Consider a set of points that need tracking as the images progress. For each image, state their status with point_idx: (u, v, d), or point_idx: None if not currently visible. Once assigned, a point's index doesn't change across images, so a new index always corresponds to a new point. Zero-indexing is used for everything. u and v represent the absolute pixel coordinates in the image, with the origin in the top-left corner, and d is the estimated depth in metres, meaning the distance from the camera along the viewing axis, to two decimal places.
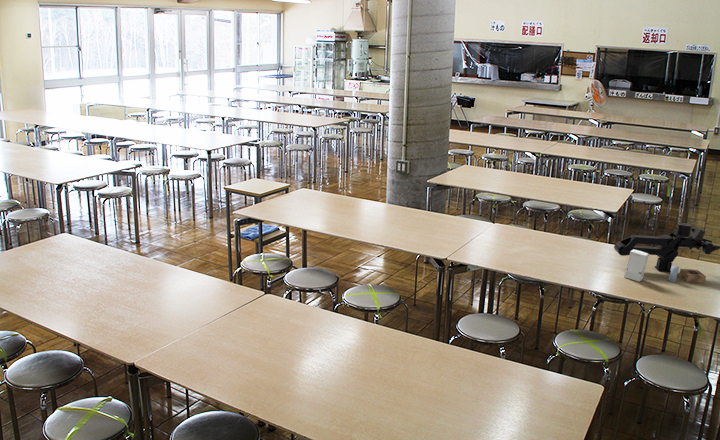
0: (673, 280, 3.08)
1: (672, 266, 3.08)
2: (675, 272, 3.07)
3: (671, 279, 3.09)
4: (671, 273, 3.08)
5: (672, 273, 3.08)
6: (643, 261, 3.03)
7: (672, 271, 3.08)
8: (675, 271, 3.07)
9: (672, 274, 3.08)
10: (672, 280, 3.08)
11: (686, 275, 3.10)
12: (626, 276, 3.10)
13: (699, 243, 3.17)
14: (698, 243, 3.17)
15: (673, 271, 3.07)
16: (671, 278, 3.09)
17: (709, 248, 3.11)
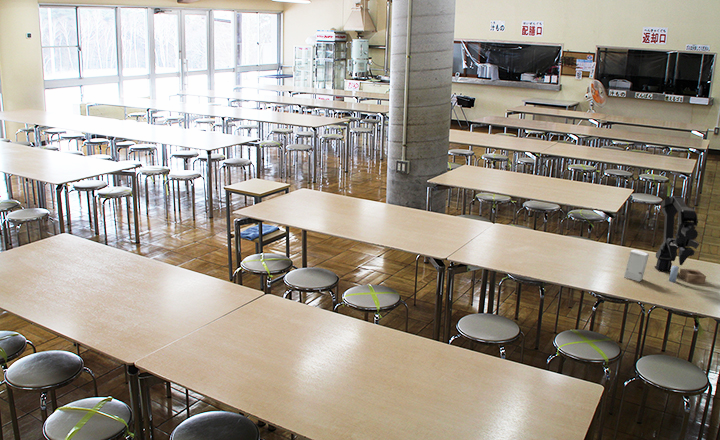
0: (673, 280, 3.08)
1: (672, 266, 3.08)
2: (675, 272, 3.07)
3: (671, 279, 3.09)
4: (671, 273, 3.08)
5: (672, 273, 3.08)
6: (643, 261, 3.03)
7: (672, 271, 3.08)
8: (675, 271, 3.07)
9: (672, 274, 3.08)
10: (672, 280, 3.08)
11: (686, 275, 3.10)
12: (626, 276, 3.10)
13: (685, 244, 3.01)
14: (685, 244, 3.01)
15: (673, 271, 3.07)
16: (671, 278, 3.09)
17: (690, 252, 2.95)
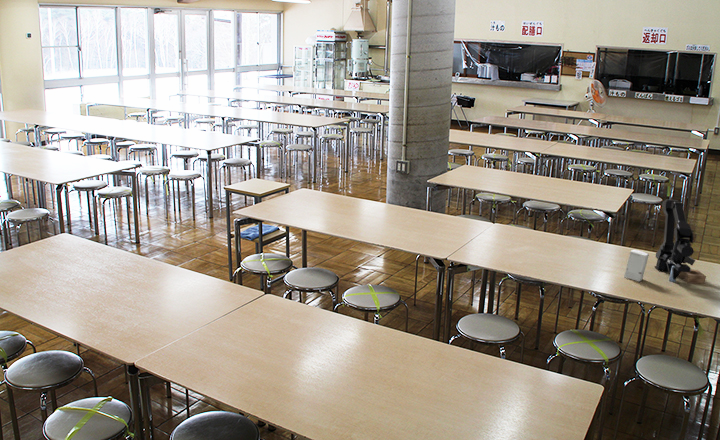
0: (673, 280, 3.08)
1: (672, 266, 3.08)
2: None
3: (671, 279, 3.09)
4: (671, 273, 3.08)
5: (672, 273, 3.08)
6: (643, 261, 3.03)
7: None
8: None
9: (672, 274, 3.08)
10: (672, 280, 3.08)
11: (686, 275, 3.10)
12: (626, 276, 3.10)
13: (681, 261, 3.04)
14: (681, 260, 3.04)
15: None
16: (671, 278, 3.09)
17: (686, 269, 2.98)
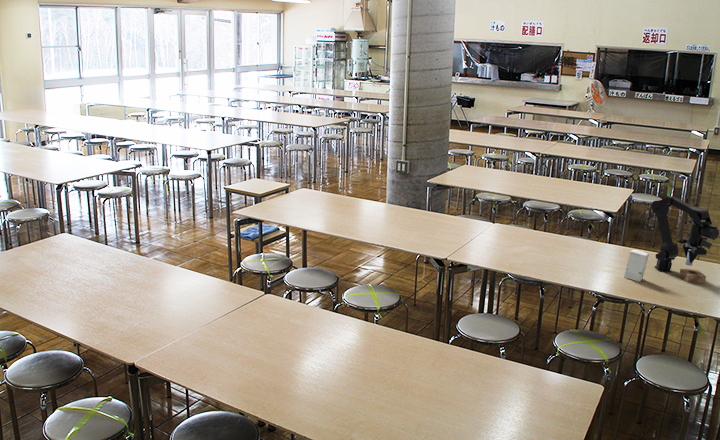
0: (689, 263, 3.08)
1: (689, 249, 3.07)
2: None
3: (687, 262, 3.08)
4: (688, 256, 3.08)
5: None
6: (643, 261, 3.03)
7: None
8: None
9: None
10: (688, 263, 3.08)
11: (686, 275, 3.10)
12: (626, 276, 3.10)
13: (697, 244, 3.03)
14: (697, 243, 3.03)
15: None
16: (687, 261, 3.08)
17: (702, 252, 2.98)
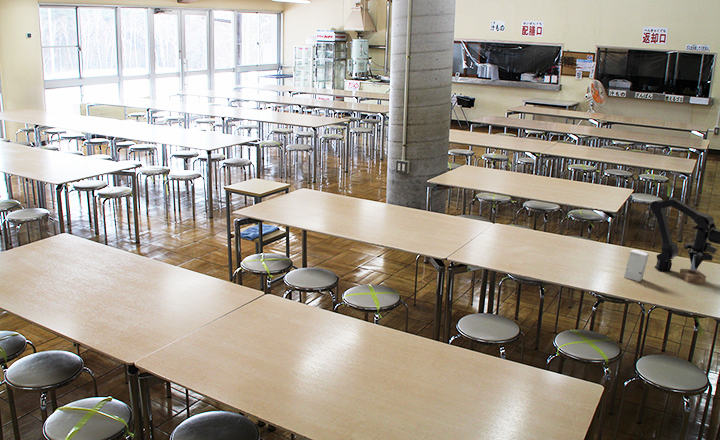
0: (695, 269, 3.10)
1: (694, 255, 3.10)
2: None
3: (693, 268, 3.11)
4: (693, 262, 3.10)
5: None
6: (643, 261, 3.03)
7: None
8: None
9: None
10: (694, 269, 3.10)
11: (686, 275, 3.10)
12: (626, 276, 3.10)
13: (703, 250, 3.06)
14: (703, 249, 3.05)
15: None
16: (693, 267, 3.10)
17: (708, 258, 3.00)
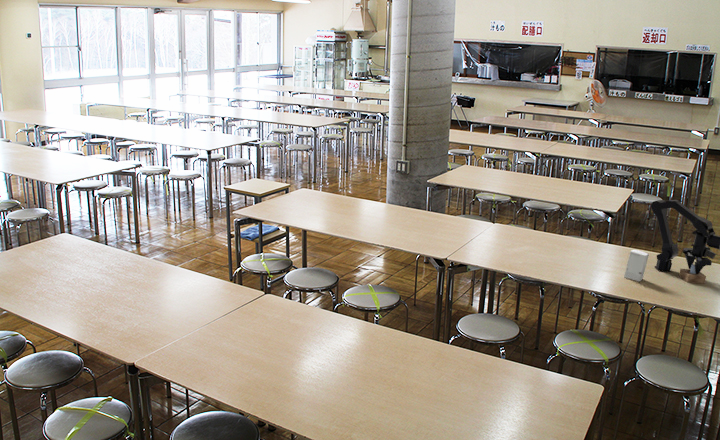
0: None
1: (691, 265, 3.11)
2: (694, 271, 3.10)
3: None
4: (690, 272, 3.12)
5: (691, 272, 3.11)
6: (643, 261, 3.03)
7: (691, 270, 3.11)
8: (694, 270, 3.10)
9: (691, 273, 3.11)
10: None
11: (686, 275, 3.10)
12: (626, 276, 3.10)
13: (702, 255, 3.06)
14: (702, 254, 3.06)
15: (692, 269, 3.11)
16: None
17: (707, 263, 3.01)
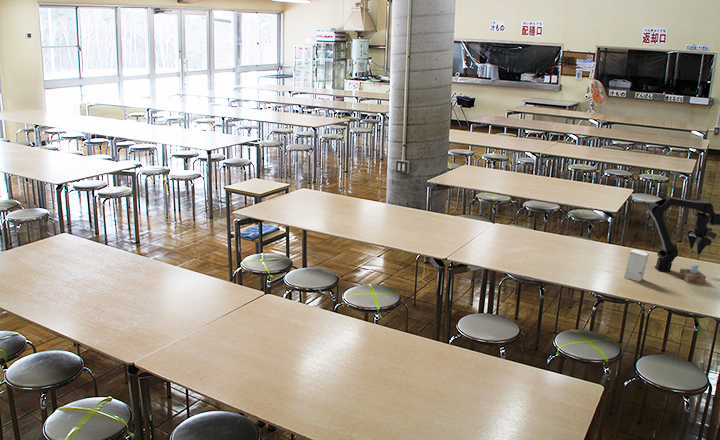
0: None
1: (691, 265, 3.11)
2: (695, 271, 3.10)
3: None
4: (690, 272, 3.12)
5: (691, 272, 3.11)
6: (643, 261, 3.03)
7: (691, 270, 3.11)
8: (695, 270, 3.10)
9: (691, 273, 3.11)
10: None
11: (686, 275, 3.10)
12: (626, 276, 3.10)
13: (702, 235, 3.15)
14: (702, 234, 3.14)
15: (692, 269, 3.11)
16: None
17: (707, 242, 3.09)
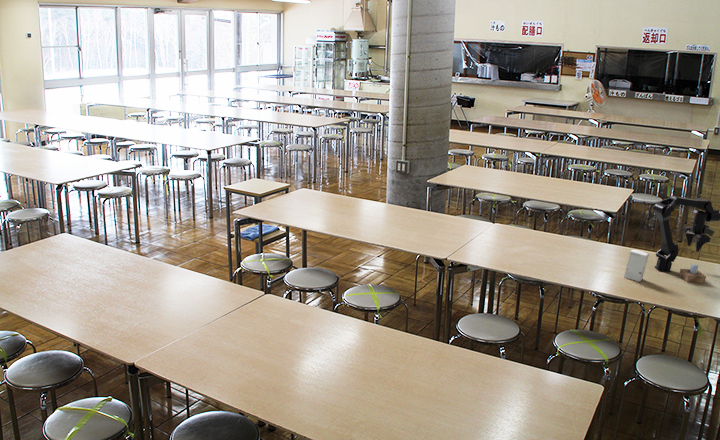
0: None
1: (691, 265, 3.11)
2: (695, 271, 3.10)
3: None
4: (690, 272, 3.12)
5: (691, 272, 3.11)
6: (643, 261, 3.03)
7: (691, 270, 3.11)
8: (695, 270, 3.10)
9: (691, 273, 3.11)
10: None
11: (686, 275, 3.10)
12: (626, 276, 3.10)
13: (701, 232, 3.19)
14: (701, 231, 3.19)
15: (692, 269, 3.11)
16: None
17: (706, 239, 3.14)
